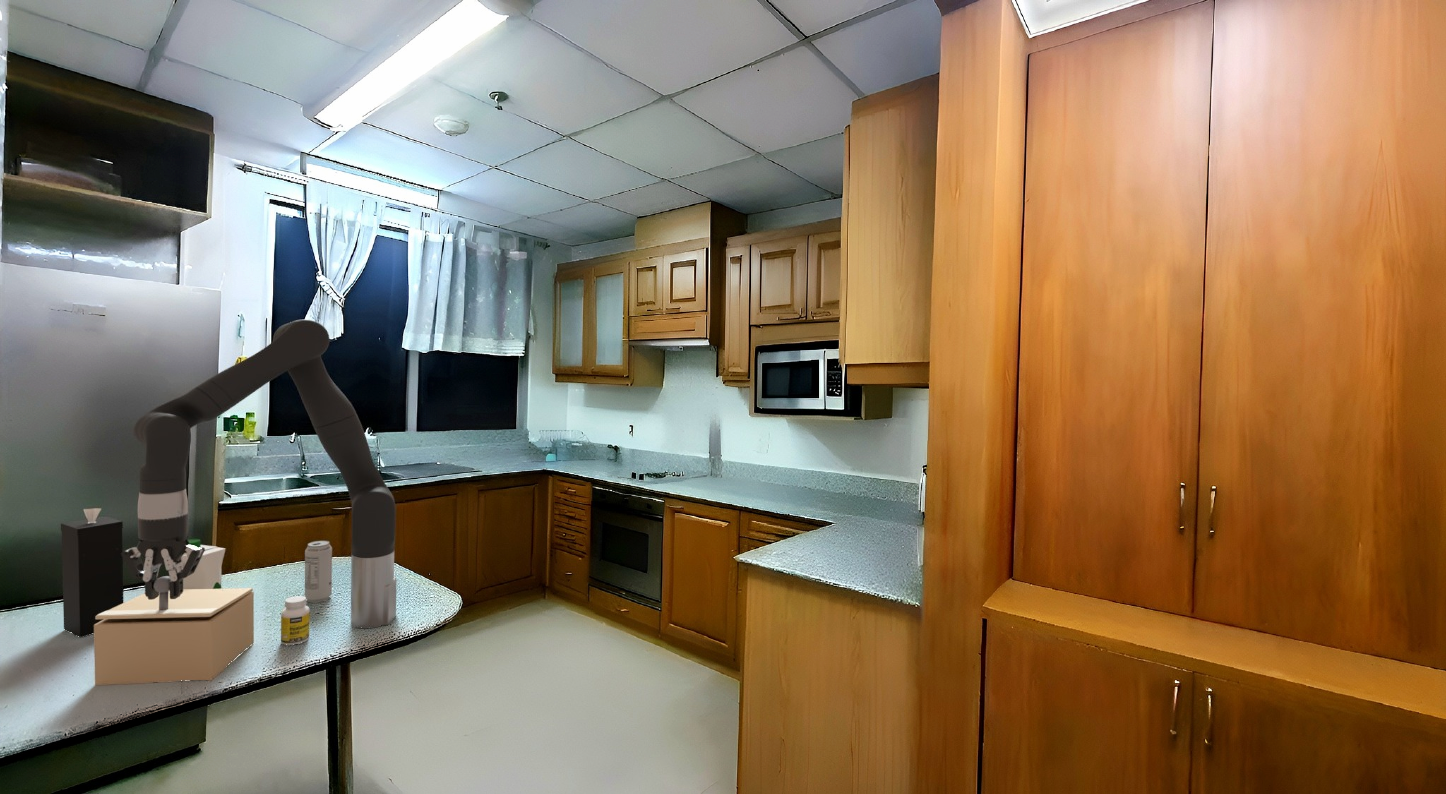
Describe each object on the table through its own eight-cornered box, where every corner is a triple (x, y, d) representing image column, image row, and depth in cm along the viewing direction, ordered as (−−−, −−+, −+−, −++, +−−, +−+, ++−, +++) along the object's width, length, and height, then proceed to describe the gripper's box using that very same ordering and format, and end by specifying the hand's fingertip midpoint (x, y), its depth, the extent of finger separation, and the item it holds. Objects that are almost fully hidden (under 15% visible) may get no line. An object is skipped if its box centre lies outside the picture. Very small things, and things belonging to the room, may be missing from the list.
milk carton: (200, 615, 158) (199, 535, 157) (231, 620, 156) (230, 539, 155) (162, 630, 149) (161, 545, 148) (194, 635, 148) (194, 549, 146)
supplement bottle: (288, 648, 144) (288, 605, 143) (276, 641, 147) (276, 599, 146) (314, 640, 148) (314, 598, 148) (302, 633, 151) (302, 592, 151)
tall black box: (124, 625, 151) (122, 507, 149) (79, 638, 144) (77, 514, 142) (107, 618, 154) (105, 502, 152) (62, 630, 147) (60, 508, 145)
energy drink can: (336, 598, 172) (336, 543, 171) (311, 605, 167) (312, 548, 166) (324, 592, 175) (324, 538, 174) (300, 599, 170) (300, 543, 169)
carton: (253, 643, 145) (253, 591, 144) (211, 680, 129) (211, 621, 129) (151, 647, 141) (150, 593, 141) (95, 684, 126) (93, 624, 125)
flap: (252, 590, 144) (253, 558, 144) (210, 616, 129) (211, 579, 128) (151, 592, 141) (152, 559, 140) (95, 619, 125) (96, 581, 125)
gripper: (214, 508, 134) (215, 590, 135) (135, 508, 131) (136, 591, 132) (192, 517, 126) (192, 604, 127) (108, 518, 124) (109, 606, 125)
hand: (164, 597), depth 130 cm, fingers closed on flap, 3 cm apart
